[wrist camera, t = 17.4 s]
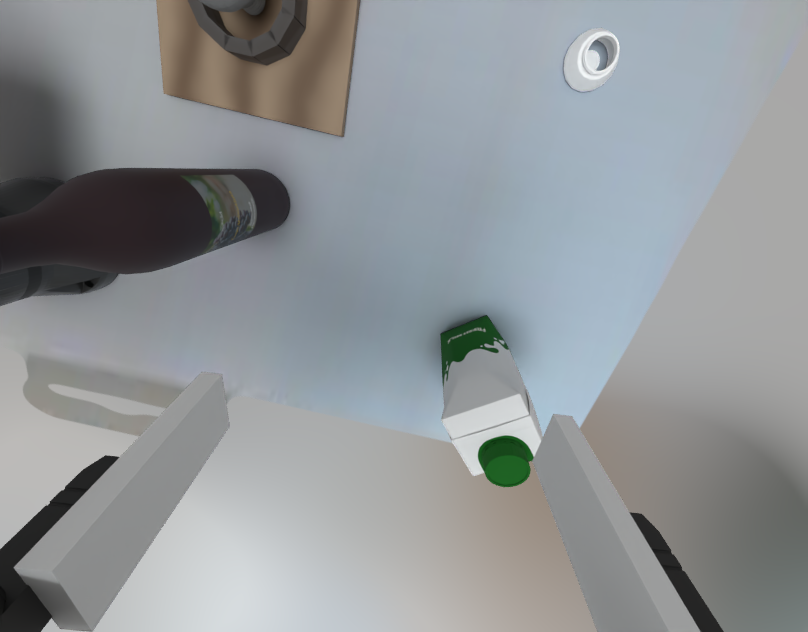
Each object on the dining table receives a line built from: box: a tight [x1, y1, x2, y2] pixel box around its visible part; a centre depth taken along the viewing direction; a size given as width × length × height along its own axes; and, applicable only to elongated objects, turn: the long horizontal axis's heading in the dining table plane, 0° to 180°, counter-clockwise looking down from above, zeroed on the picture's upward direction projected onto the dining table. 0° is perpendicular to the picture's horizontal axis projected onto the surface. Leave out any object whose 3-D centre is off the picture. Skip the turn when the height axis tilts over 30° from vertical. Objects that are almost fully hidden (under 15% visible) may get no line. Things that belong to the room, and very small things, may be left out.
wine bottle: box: [0, 168, 289, 274], centre depth 27 cm, size 7×7×30 cm
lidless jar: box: [563, 28, 620, 92], centre depth 32 cm, size 5×3×5 cm
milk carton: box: [441, 315, 543, 487], centre depth 38 cm, size 9×9×20 cm
